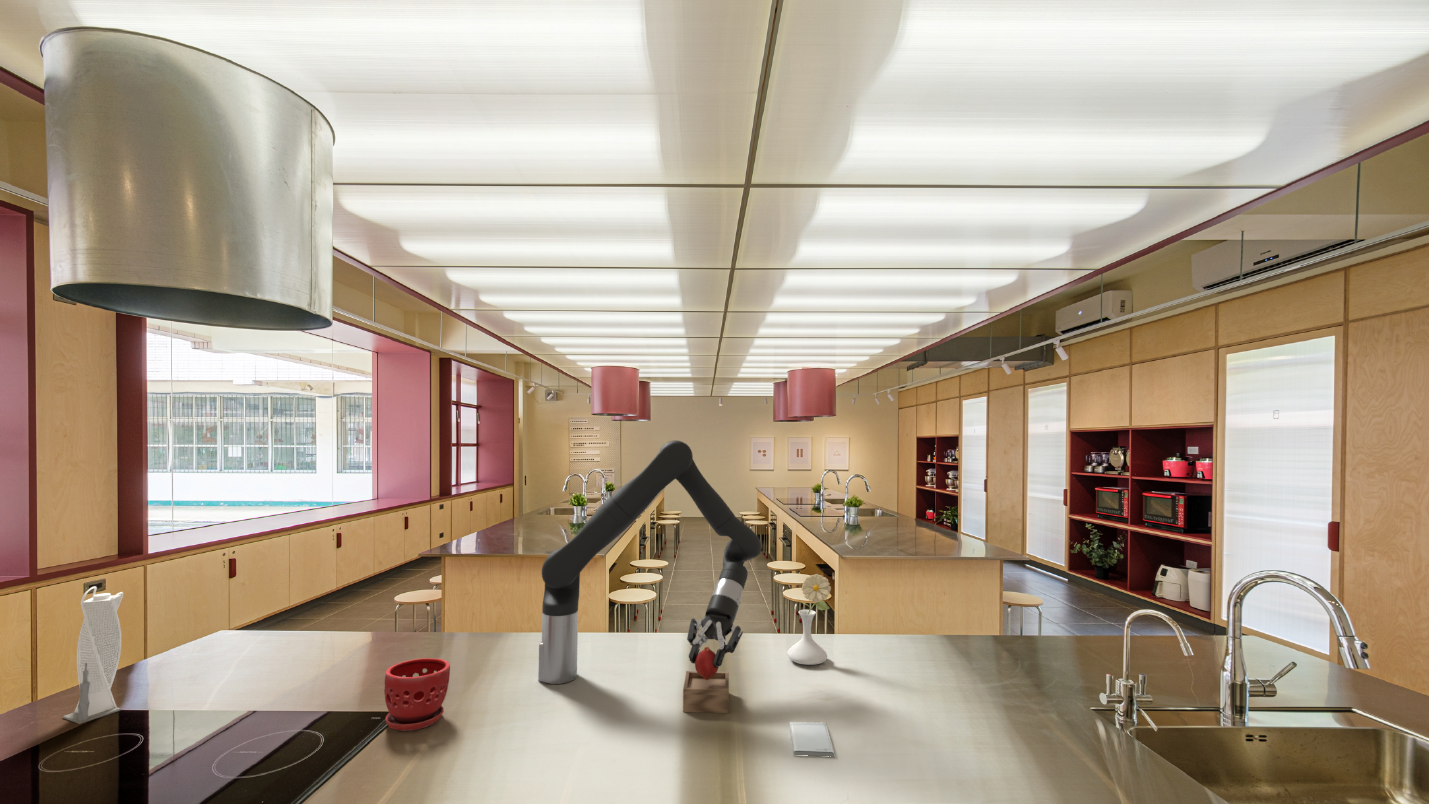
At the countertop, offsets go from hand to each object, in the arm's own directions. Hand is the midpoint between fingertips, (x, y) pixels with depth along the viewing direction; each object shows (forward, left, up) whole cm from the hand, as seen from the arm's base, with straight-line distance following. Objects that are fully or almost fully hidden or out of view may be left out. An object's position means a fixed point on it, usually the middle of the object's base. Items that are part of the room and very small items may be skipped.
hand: (703, 664), depth 144 cm
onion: (+1, +2, -4) cm, 5 cm away
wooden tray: (+1, +1, -10) cm, 10 cm away
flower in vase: (+29, +28, -10) cm, 42 cm away
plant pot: (-64, -11, -10) cm, 65 cm away
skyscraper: (-139, -10, -10) cm, 139 cm away
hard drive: (+23, -16, -10) cm, 30 cm away
